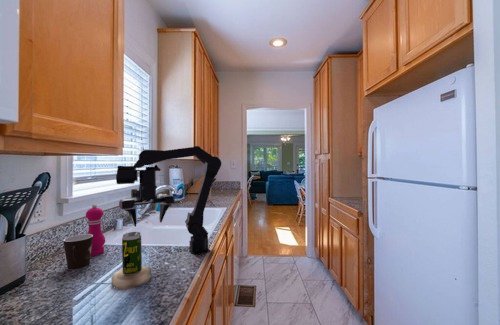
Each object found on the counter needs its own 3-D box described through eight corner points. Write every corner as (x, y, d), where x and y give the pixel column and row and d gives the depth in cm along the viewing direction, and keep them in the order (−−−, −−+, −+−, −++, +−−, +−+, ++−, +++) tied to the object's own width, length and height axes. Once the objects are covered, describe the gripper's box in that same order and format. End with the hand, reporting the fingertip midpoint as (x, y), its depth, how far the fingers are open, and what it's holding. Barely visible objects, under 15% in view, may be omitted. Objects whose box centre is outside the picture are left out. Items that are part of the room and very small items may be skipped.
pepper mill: (100, 248, 102) (100, 202, 102) (108, 252, 98) (108, 203, 98) (81, 254, 96) (80, 204, 96) (88, 257, 92) (88, 206, 92)
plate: (145, 268, 81) (145, 262, 81) (156, 280, 73) (155, 273, 73) (108, 278, 74) (108, 272, 74) (115, 293, 66) (115, 285, 66)
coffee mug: (76, 260, 89) (75, 234, 89) (98, 260, 89) (98, 234, 89) (49, 275, 78) (48, 244, 78) (74, 275, 77) (74, 244, 77)
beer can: (124, 270, 75) (123, 232, 75) (142, 267, 77) (142, 230, 77) (120, 278, 70) (120, 237, 70) (140, 275, 72) (140, 235, 72)
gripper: (164, 180, 102) (165, 217, 102) (115, 183, 91) (116, 224, 91) (174, 182, 94) (175, 221, 94) (122, 185, 82) (122, 230, 82)
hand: (148, 224), depth 90 cm, fingers open, 9 cm apart
